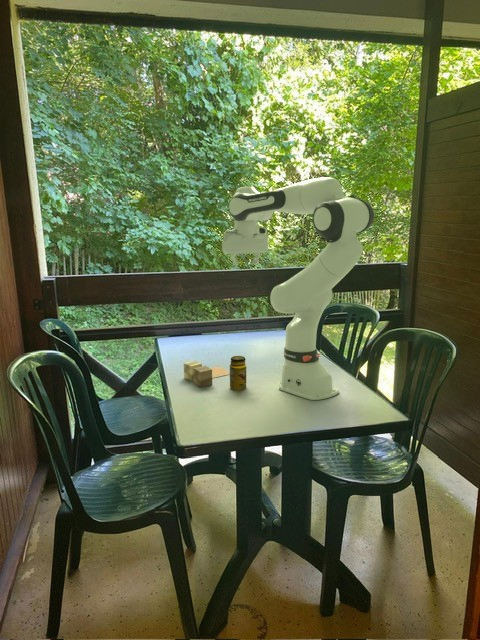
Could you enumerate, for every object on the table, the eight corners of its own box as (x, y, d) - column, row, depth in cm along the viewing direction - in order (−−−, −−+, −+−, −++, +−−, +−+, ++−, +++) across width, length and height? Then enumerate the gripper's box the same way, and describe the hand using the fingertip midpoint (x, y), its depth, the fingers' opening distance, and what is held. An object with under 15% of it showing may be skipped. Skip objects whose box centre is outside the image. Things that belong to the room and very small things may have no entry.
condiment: (249, 391, 156) (249, 359, 153) (226, 393, 154) (225, 361, 151) (244, 384, 163) (244, 353, 160) (222, 386, 161) (222, 355, 158)
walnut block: (212, 384, 161) (212, 369, 160) (200, 387, 159) (200, 371, 157) (205, 380, 165) (205, 365, 164) (194, 383, 163) (193, 368, 161)
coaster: (232, 374, 173) (232, 373, 173) (209, 380, 167) (208, 378, 167) (218, 367, 182) (218, 366, 182) (195, 372, 176) (195, 371, 176)
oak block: (202, 378, 168) (201, 363, 167) (192, 381, 165) (191, 366, 164) (194, 375, 172) (193, 360, 171) (184, 378, 168) (183, 363, 167)
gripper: (227, 229, 163) (227, 266, 166) (270, 229, 174) (270, 263, 177) (218, 229, 169) (219, 265, 171) (261, 229, 180) (261, 263, 182)
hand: (245, 264), depth 174 cm, fingers open, 8 cm apart
